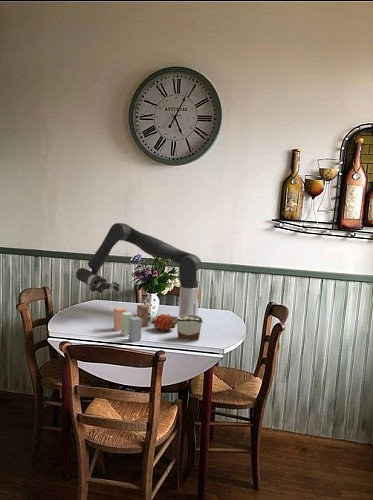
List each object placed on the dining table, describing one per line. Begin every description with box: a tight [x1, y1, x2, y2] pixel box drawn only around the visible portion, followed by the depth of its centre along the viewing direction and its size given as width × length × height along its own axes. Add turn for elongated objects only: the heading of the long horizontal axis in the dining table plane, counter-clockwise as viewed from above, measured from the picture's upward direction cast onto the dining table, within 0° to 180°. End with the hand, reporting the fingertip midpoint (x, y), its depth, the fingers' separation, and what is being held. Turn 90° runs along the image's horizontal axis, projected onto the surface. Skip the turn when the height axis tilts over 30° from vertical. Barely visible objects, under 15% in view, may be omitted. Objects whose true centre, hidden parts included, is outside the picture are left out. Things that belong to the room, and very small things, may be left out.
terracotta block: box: [113, 306, 127, 332], centre depth 216 cm, size 4×4×10 cm
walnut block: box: [136, 304, 149, 329], centre depth 223 cm, size 4×4×10 cm
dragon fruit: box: [151, 313, 177, 332], centre depth 219 cm, size 8×8×12 cm
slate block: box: [128, 316, 142, 343], centre depth 203 cm, size 4×4×10 cm
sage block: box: [120, 311, 134, 337], centre depth 210 cm, size 4×4×10 cm
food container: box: [175, 315, 204, 341], centre depth 210 cm, size 12×6×10 cm, turn 92°
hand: (110, 290), depth 224 cm, fingers open, 8 cm apart
